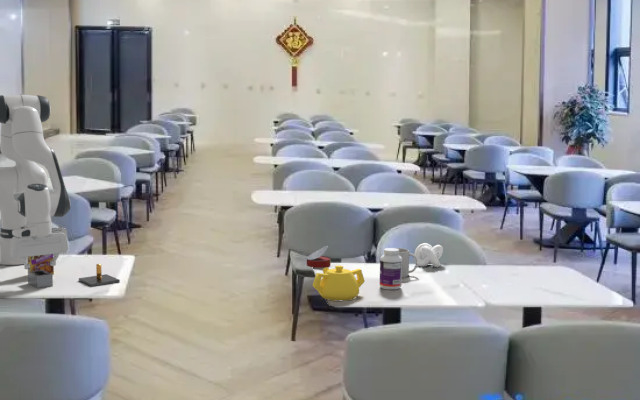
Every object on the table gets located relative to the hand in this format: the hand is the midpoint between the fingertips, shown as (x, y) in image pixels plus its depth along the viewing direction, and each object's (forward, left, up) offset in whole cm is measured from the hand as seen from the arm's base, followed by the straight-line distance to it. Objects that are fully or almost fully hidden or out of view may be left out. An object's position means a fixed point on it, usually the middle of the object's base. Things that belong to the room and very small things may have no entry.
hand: (40, 267), depth 296 cm
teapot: (+74, +77, -7) cm, 107 cm away
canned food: (+33, +103, -7) cm, 109 cm away
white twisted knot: (+61, +140, -7) cm, 153 cm away
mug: (+66, +117, -7) cm, 135 cm away
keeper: (+7, +19, -7) cm, 21 cm away
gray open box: (-1, 0, -7) cm, 7 cm away
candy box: (-16, +6, -7) cm, 18 cm away
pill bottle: (+78, +100, -7) cm, 127 cm away
